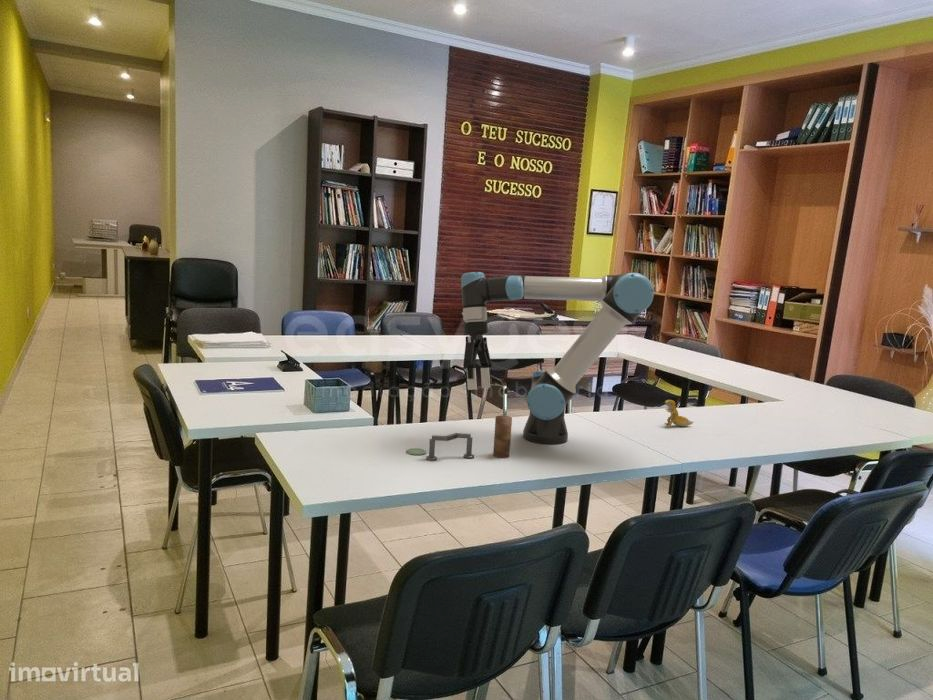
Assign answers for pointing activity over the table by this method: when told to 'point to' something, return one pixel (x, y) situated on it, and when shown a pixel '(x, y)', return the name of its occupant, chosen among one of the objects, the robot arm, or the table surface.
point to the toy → (675, 415)
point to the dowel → (502, 436)
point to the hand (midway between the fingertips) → (479, 388)
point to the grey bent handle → (447, 438)
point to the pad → (416, 451)
